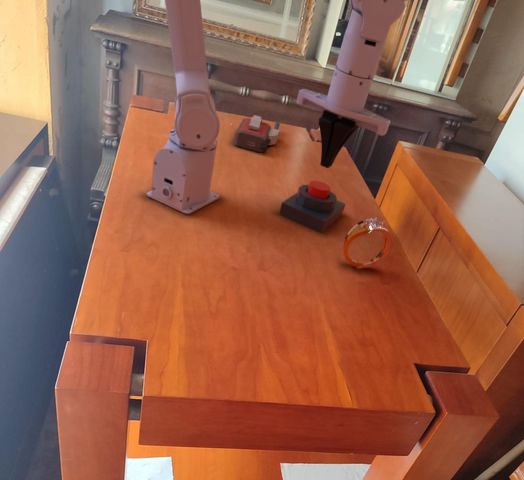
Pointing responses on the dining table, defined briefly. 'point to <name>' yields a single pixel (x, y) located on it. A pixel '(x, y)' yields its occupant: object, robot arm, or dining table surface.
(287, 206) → the switch box
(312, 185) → the light button
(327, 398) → the dining table surface
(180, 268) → the dining table surface
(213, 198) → the robot arm
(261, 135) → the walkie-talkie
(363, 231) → the ring
